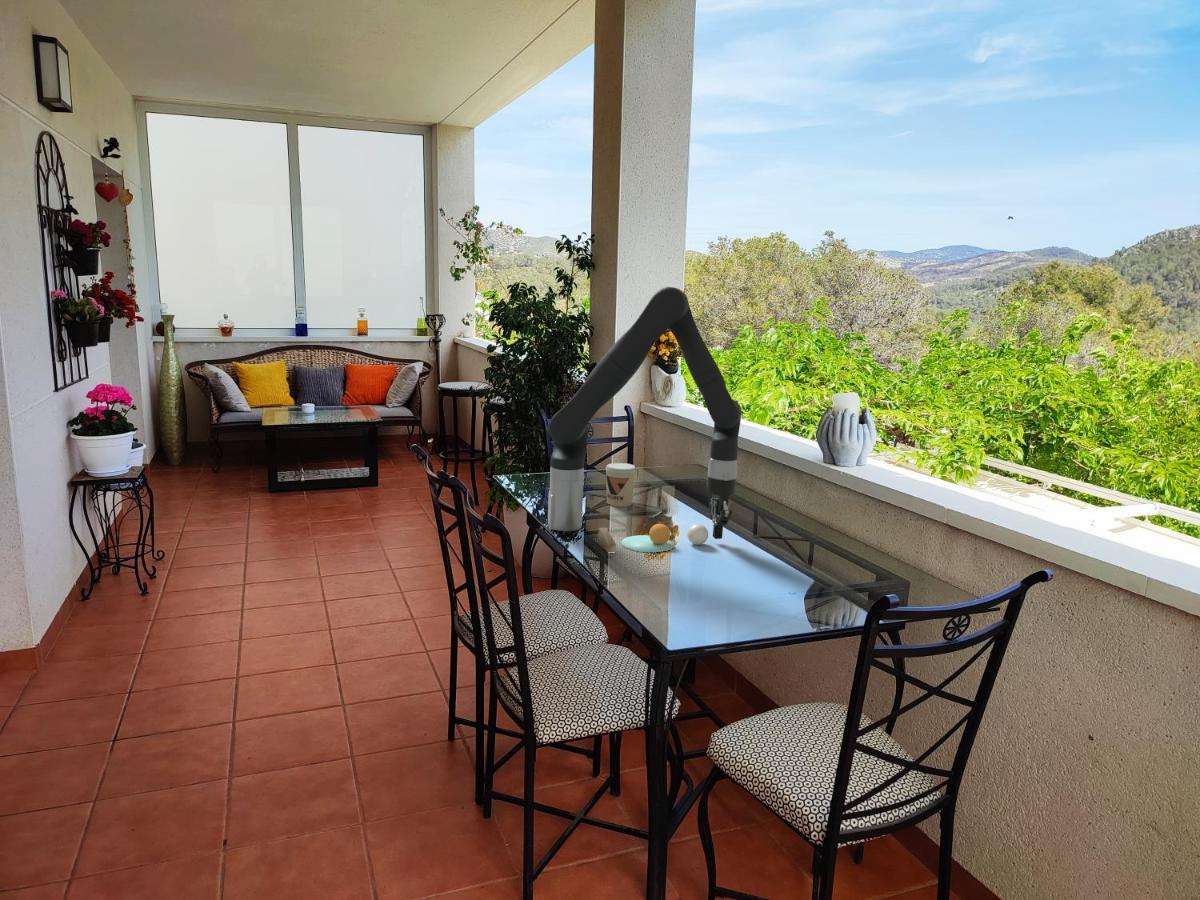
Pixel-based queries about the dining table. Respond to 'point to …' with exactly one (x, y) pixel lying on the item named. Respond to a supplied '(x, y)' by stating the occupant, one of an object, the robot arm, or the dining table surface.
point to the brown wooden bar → (607, 540)
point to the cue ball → (697, 534)
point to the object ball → (659, 534)
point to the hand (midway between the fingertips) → (717, 537)
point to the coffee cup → (620, 483)
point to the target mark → (645, 544)
